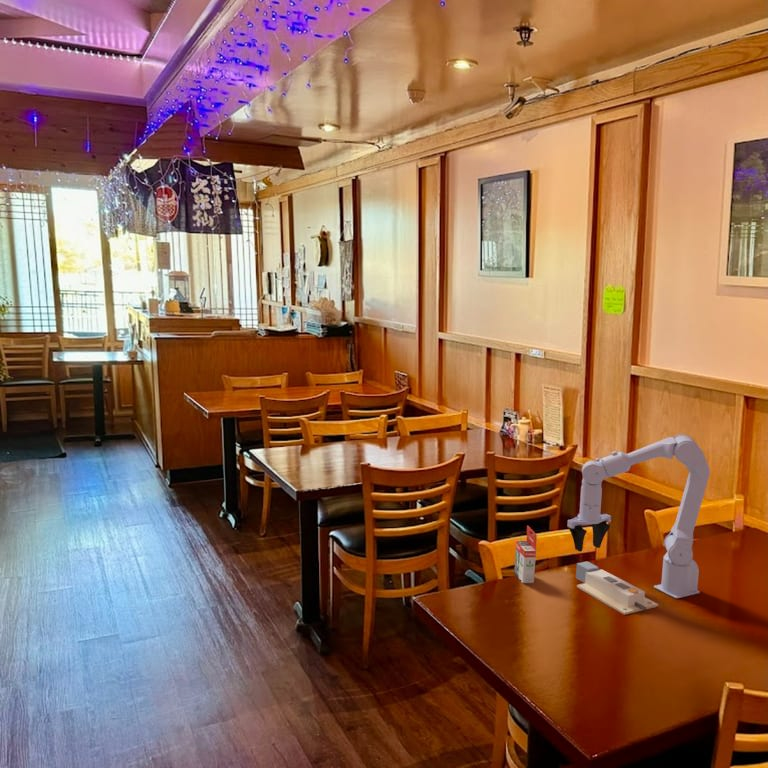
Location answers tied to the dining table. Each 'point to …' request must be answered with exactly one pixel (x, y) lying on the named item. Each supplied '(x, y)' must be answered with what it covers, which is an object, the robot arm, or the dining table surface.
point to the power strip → (615, 592)
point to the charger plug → (584, 570)
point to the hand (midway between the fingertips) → (587, 548)
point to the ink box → (526, 557)
